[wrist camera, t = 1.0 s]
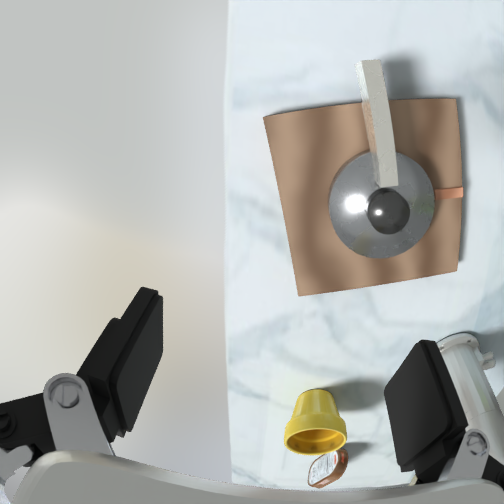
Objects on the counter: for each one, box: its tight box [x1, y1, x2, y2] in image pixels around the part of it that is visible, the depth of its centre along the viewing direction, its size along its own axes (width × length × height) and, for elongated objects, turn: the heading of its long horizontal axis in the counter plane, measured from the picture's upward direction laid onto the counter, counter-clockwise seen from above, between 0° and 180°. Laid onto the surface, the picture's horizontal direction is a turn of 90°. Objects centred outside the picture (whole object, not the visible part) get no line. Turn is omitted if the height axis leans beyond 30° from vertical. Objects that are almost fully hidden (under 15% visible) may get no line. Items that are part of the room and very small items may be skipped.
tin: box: [308, 449, 348, 488], centre depth 58 cm, size 15×3×8 cm, turn 160°
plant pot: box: [284, 389, 347, 455], centre depth 47 cm, size 10×10×10 cm
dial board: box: [263, 99, 463, 296], centre depth 33 cm, size 22×22×2 cm
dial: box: [328, 60, 435, 259], centre depth 28 cm, size 21×12×4 cm, turn 13°
